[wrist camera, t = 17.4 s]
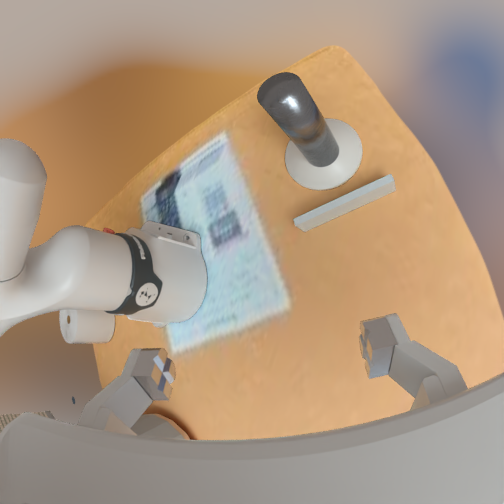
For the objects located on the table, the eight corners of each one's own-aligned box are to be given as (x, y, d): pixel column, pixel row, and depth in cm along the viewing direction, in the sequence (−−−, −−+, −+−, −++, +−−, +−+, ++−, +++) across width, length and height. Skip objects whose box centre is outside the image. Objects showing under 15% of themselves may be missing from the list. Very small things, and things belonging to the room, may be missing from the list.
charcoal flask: (308, 170, 41) (259, 114, 28) (303, 141, 42) (255, 82, 29) (342, 162, 38) (305, 98, 26) (335, 132, 40) (297, 66, 27)
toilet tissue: (107, 352, 59) (70, 353, 51) (87, 320, 65) (54, 318, 57) (120, 317, 58) (81, 316, 50) (99, 286, 64) (64, 282, 56)
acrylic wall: (304, 232, 40) (295, 225, 37) (302, 225, 41) (293, 219, 38) (395, 190, 35) (394, 180, 32) (392, 184, 35) (390, 173, 32)
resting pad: (274, 176, 44) (272, 175, 44) (305, 114, 43) (303, 112, 43) (343, 202, 38) (342, 201, 38) (373, 131, 37) (373, 129, 37)
